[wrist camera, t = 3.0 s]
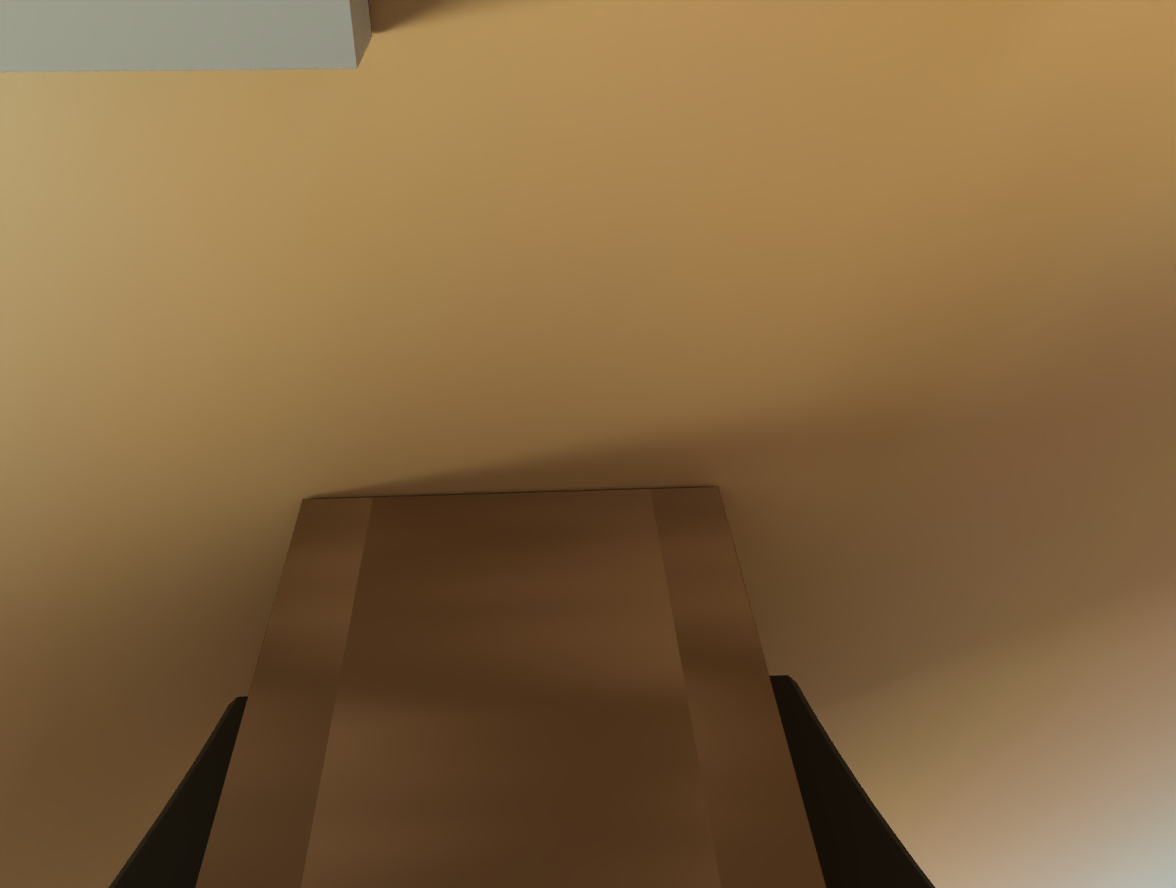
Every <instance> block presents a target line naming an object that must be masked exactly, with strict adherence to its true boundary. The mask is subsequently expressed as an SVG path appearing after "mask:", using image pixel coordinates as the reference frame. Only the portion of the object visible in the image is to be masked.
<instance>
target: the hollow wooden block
mask: <svg viewBox="0 0 1176 888" xmlns="http://www.w3.org/2000/svg"><path fill="white" fill-rule="evenodd" d="M195 888H826V885H825V881H824V878H823V874H822V870H821V867H820V863H819V859H818V855H817V852H816V848H815V844H814V841H813V837H812V833H811V830H810V826H809V822H808V818H807V815H806V811H805V807H804V804H803V800H802V796H801V792H800V789H799V785H798V781H797V778H796V774H795V770H794V766H793V763H792V759H791V755H790V752H789V748H788V744H787V740H786V737H785V733H784V729H783V726H782V722H781V718H780V714H779V711H778V707H777V703H776V700H775V696H774V692H773V688H772V685H771V681H770V677H769V674H768V670H767V666H766V662H765V659H764V655H763V651H762V648H761V644H760V640H759V636H758V633H757V629H756V625H755V622H754V618H753V614H752V610H751V607H750V603H749V599H748V596H747V592H746V588H745V584H744V581H743V577H742V573H741V570H740V566H739V562H738V558H737V555H736V551H735V547H734V544H733V540H732V536H731V532H730V529H729V525H728V521H727V518H726V514H725V510H724V506H723V503H722V499H721V495H720V492H719V488H718V487H699V488H666V489H633V490H599V491H566V492H533V493H500V494H467V495H434V496H400V497H367V498H334V499H303V500H302V504H301V507H300V511H299V514H298V518H297V522H296V525H295V529H294V532H293V536H292V540H291V543H290V547H289V551H288V554H287V558H286V561H285V565H284V569H283V572H282V576H281V579H280V583H279V587H278V590H277V594H276V598H275V601H274V605H273V608H272V612H271V616H270V619H269V623H268V627H267V630H266V634H265V637H264V641H263V645H262V648H261V652H260V655H259V659H258V663H257V666H256V670H255V674H254V677H253V681H252V684H251V688H250V692H249V695H248V699H247V702H246V706H245V710H244V713H243V717H242V721H241V724H240V728H239V731H238V735H237V739H236V742H235V746H234V749H233V753H232V757H231V760H230V764H229V768H228V771H227V775H226V778H225V782H224V786H223V789H222V793H221V797H220V800H219V804H218V807H217V811H216V815H215V818H214V822H213V825H212V829H211V833H210V836H209V840H208V844H207V847H206V851H205V854H204V858H203V862H202V865H201V869H200V872H199V876H198V880H197V883H196V887H195Z"/></svg>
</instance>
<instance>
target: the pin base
mask: <svg viewBox="0 0 1176 888" xmlns="http://www.w3.org/2000/svg"><path fill="white" fill-rule="evenodd" d="M371 38H372V33H371V23H370V14H369V4H368V0H0V72H65V71H167V70H268V69H357V68H358V65H359V63H360V61H361V59H362V57H363V55H364V53H365V50H366V48H367V46H368V44H369V42H370V40H371Z"/></svg>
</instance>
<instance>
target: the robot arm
mask: <svg viewBox="0 0 1176 888" xmlns="http://www.w3.org/2000/svg"><path fill="white" fill-rule="evenodd" d="M769 677H770V681H771V685H772V688H773V692H774V696H775V700H776V703H777V707H778V711H779V714H780V718H781V722H782V726H783V729H784V733H785V737H786V740H787V744H788V748H789V752H790V755H791V759H792V763H793V766H794V770H795V774H796V778H797V781H798V785H799V789H800V792H801V796H802V800H803V804H804V807H805V811H806V815H807V818H808V822H809V826H810V830H811V833H812V837H813V841H814V844H815V848H816V852H817V855H818V859H819V863H820V867H821V870H822V874H823V878H824V881H825V885H826V888H935V887H934V886H933V884H932V883H931V882H930V880H929V879H928V878H927V876H926V875H925V874H924V873H923V871H922V870H921V869H920V867H919V866H918V865H917V863H916V862H915V861H914V859H913V858H912V857H911V855H910V854H909V852H908V851H907V850H906V848H905V847H904V846H903V844H902V843H901V841H900V840H899V839H898V837H897V836H896V835H895V833H894V832H893V830H892V829H891V828H890V826H889V825H888V824H887V822H886V821H885V819H884V818H883V817H882V815H881V814H880V813H879V811H878V810H877V808H876V807H875V806H874V804H873V803H872V801H871V800H870V798H869V797H868V795H867V794H866V792H865V791H864V790H863V788H862V787H861V785H860V784H859V782H858V781H857V779H856V778H855V776H854V775H853V773H852V772H851V770H850V769H849V767H848V766H847V764H846V763H845V761H844V760H843V758H842V757H841V755H840V753H839V752H838V750H837V749H836V747H835V746H834V744H833V742H832V741H831V739H830V738H829V736H828V735H827V733H826V731H825V730H824V728H823V727H822V725H821V723H820V722H819V720H818V718H817V717H816V715H815V713H814V712H813V710H812V708H811V707H810V705H809V703H808V702H807V700H806V698H805V696H804V695H803V693H802V691H801V689H800V688H799V686H798V684H797V683H796V682H795V681H794V680H793V679H792V678H791V677H790V676H788V675H782V676H769ZM247 699H248V697H237V698H236V699H235V700H234V701H233V702H232V703H231V704H229V706H228V707H227V709H226V711H225V712H224V714H223V716H222V717H221V719H220V721H219V722H218V724H217V726H216V727H215V729H214V731H213V732H212V734H211V736H210V737H209V739H208V740H207V742H206V744H205V745H204V747H203V749H202V750H201V752H200V753H199V755H198V757H197V758H196V760H195V761H194V763H193V765H192V766H191V768H190V769H189V771H188V772H187V774H186V775H185V777H184V779H183V780H182V782H181V783H180V785H179V786H178V788H177V789H176V791H175V792H174V794H173V795H172V797H171V798H170V800H169V801H168V803H167V804H166V806H165V807H164V809H163V811H162V812H161V814H160V815H159V817H158V818H157V820H156V821H155V822H154V824H153V825H152V827H151V828H150V830H149V831H148V832H147V834H146V835H145V837H144V838H143V840H142V841H141V842H140V844H139V845H138V847H137V848H136V850H135V851H134V852H133V854H132V855H131V857H130V858H129V860H128V861H127V862H126V864H125V865H124V867H123V868H122V870H121V871H120V872H119V874H118V875H117V877H116V878H115V880H114V881H113V882H112V884H111V885H110V887H109V888H195V887H196V883H197V880H198V876H199V872H200V869H201V865H202V862H203V858H204V854H205V851H206V847H207V844H208V840H209V836H210V833H211V829H212V825H213V822H214V818H215V815H216V811H217V807H218V804H219V800H220V797H221V793H222V789H223V786H224V782H225V778H226V775H227V771H228V768H229V764H230V760H231V757H232V753H233V749H234V746H235V742H236V739H237V735H238V731H239V728H240V724H241V721H242V717H243V713H244V710H245V706H246V702H247Z"/></svg>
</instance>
